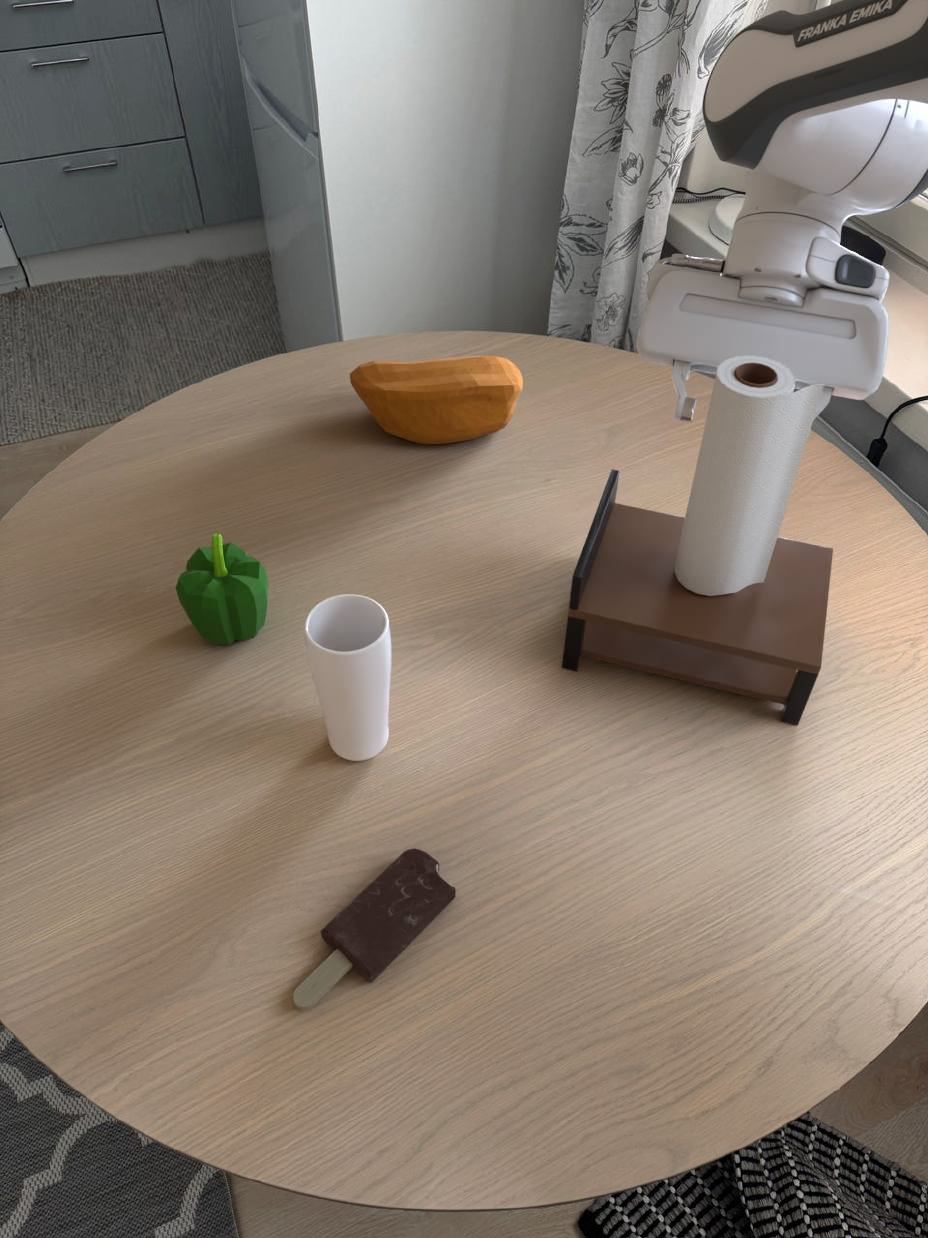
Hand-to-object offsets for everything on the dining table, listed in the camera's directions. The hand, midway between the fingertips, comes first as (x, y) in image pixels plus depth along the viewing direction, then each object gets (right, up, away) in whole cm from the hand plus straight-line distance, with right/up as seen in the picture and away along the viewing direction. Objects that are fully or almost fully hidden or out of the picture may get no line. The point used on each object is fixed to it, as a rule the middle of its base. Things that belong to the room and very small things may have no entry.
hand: (738, 430), depth 84 cm
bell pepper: (-46, -17, +14) cm, 51 cm away
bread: (-27, +9, +39) cm, 48 cm away
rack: (-1, -18, +13) cm, 22 cm away
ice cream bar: (-30, -40, -9) cm, 51 cm away
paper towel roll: (0, -12, +8) cm, 15 cm away
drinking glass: (-33, -27, +4) cm, 42 cm away
